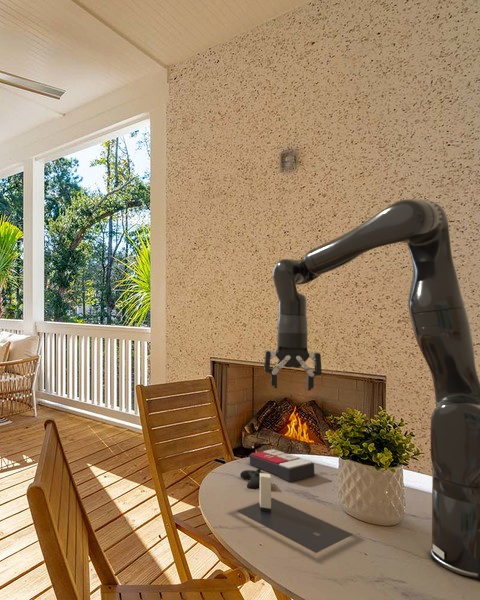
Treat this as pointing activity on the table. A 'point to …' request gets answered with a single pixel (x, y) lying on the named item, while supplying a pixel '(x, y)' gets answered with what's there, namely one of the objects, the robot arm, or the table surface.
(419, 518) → the table surface
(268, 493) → the tall cream square pillar
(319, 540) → the tablet
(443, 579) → the table surface
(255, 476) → the game controller
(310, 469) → the calculator
